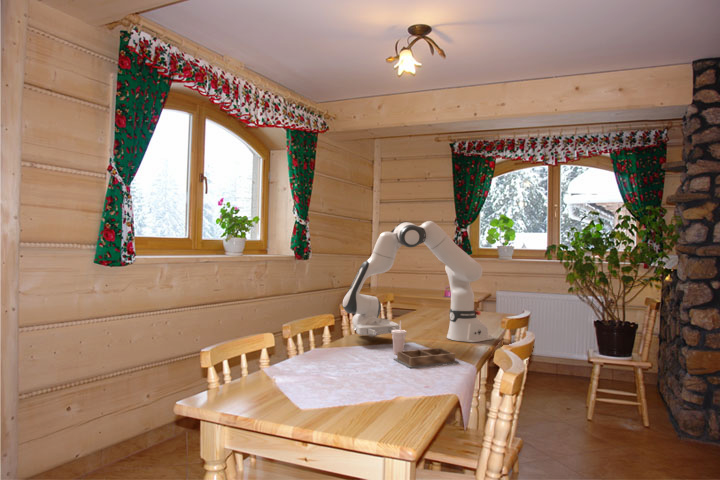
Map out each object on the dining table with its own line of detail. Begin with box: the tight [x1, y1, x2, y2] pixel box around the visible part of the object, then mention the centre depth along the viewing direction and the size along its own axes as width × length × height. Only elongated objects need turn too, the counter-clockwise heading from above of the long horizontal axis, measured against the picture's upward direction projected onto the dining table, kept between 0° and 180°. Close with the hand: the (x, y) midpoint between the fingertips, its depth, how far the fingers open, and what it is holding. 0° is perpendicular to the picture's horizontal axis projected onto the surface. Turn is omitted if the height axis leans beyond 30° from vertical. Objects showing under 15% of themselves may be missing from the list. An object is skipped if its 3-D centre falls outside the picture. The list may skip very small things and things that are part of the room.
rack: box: [396, 347, 456, 366], centre depth 188 cm, size 20×10×3 cm, turn 114°
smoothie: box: [390, 320, 408, 356], centre depth 199 cm, size 6×6×14 cm
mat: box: [393, 357, 460, 369], centre depth 188 cm, size 22×13×1 cm, turn 114°
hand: (385, 332), depth 210 cm, fingers open, 8 cm apart
